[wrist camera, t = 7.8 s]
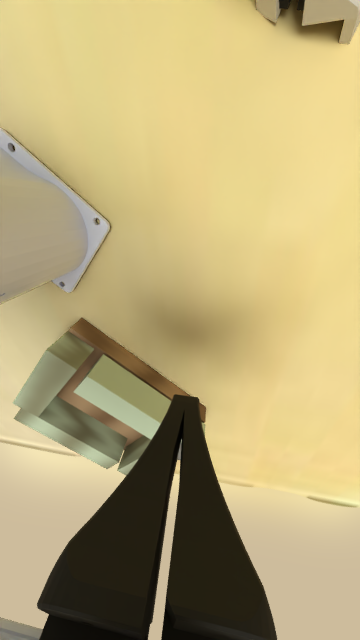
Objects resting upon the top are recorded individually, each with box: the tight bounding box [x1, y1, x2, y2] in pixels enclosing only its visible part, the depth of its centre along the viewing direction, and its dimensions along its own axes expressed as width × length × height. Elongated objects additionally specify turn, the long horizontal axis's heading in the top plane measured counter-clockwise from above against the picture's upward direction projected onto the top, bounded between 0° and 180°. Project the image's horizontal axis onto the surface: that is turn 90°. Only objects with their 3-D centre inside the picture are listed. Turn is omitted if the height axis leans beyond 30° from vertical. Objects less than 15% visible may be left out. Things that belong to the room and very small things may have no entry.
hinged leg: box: [74, 354, 205, 460], centre depth 21 cm, size 14×3×4 cm, turn 49°
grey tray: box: [13, 318, 206, 475], centre depth 24 cm, size 18×14×5 cm
